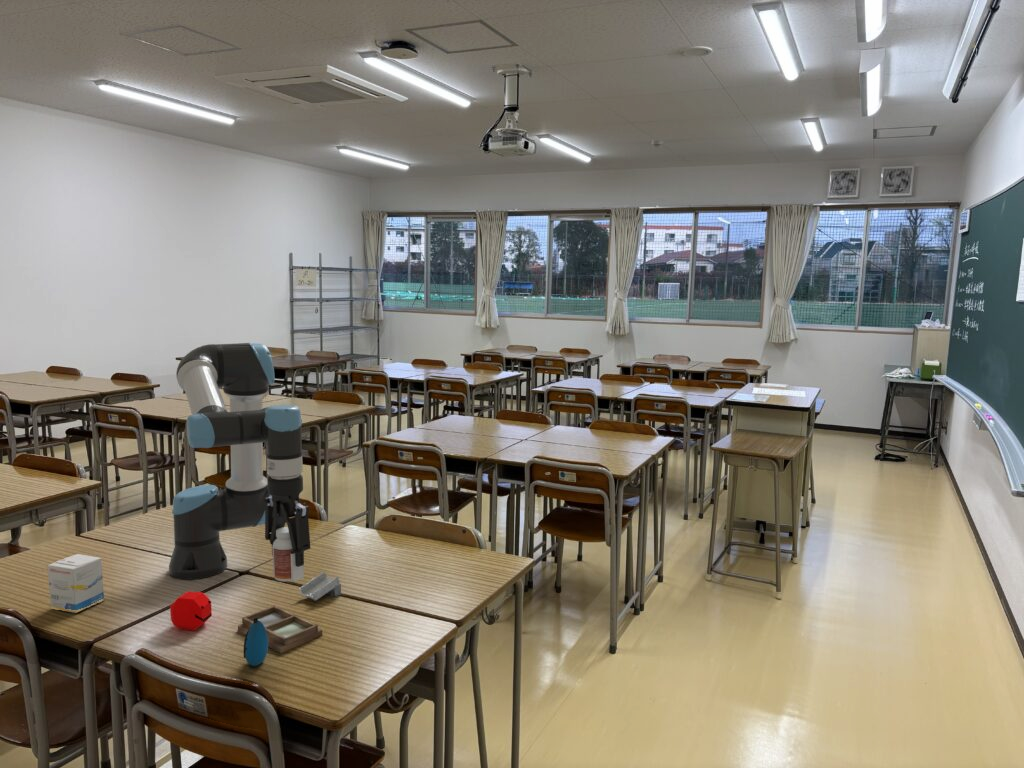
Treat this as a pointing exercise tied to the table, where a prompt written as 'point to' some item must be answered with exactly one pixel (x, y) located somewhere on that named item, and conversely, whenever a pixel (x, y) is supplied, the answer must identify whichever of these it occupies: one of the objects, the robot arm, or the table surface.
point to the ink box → (75, 582)
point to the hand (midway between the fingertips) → (288, 575)
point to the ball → (190, 610)
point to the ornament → (256, 643)
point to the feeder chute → (321, 587)
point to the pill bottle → (282, 555)
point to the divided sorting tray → (282, 628)
